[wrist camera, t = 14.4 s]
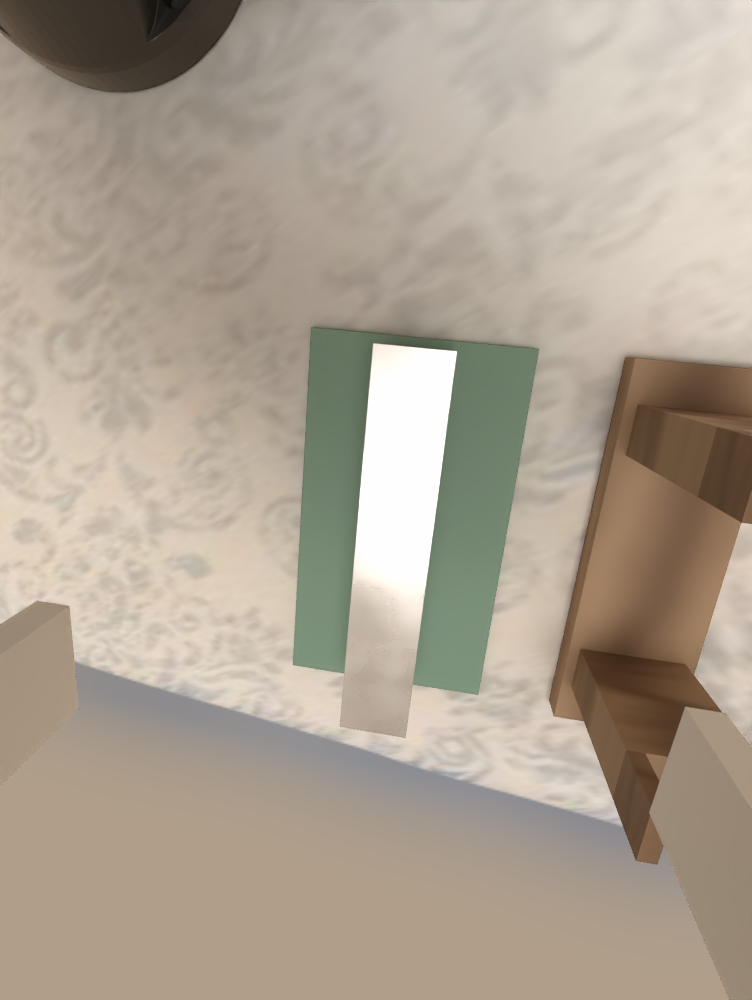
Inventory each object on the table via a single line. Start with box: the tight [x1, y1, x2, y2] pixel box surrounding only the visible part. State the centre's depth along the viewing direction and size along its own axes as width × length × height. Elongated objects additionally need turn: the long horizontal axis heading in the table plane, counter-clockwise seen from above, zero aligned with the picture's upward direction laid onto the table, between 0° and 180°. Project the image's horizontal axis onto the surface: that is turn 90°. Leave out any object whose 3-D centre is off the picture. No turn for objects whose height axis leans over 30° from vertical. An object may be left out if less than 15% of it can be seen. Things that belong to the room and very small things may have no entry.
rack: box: [549, 358, 752, 864], centre depth 24 cm, size 7×21×12 cm, turn 175°
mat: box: [293, 327, 539, 695], centre depth 31 cm, size 12×21×1 cm, turn 175°
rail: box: [340, 343, 457, 738], centre depth 28 cm, size 4×20×5 cm, turn 175°
